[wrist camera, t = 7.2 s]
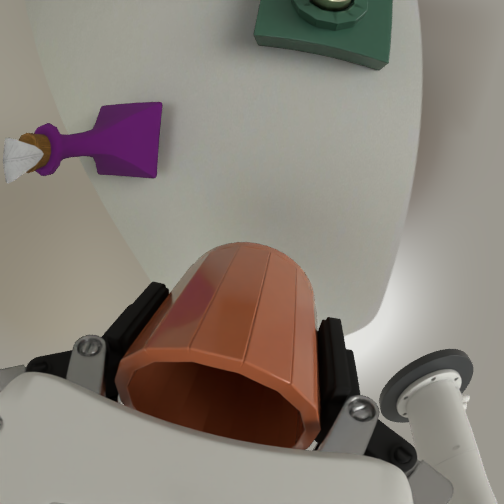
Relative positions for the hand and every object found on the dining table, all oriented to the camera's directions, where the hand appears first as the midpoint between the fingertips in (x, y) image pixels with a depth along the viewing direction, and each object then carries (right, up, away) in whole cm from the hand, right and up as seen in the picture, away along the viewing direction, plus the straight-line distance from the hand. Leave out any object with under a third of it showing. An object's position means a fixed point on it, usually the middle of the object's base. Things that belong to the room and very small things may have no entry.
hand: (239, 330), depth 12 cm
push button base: (+8, +27, +7) cm, 29 cm away
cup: (0, +1, +2) cm, 2 cm away
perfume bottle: (-11, +16, +15) cm, 25 cm away
